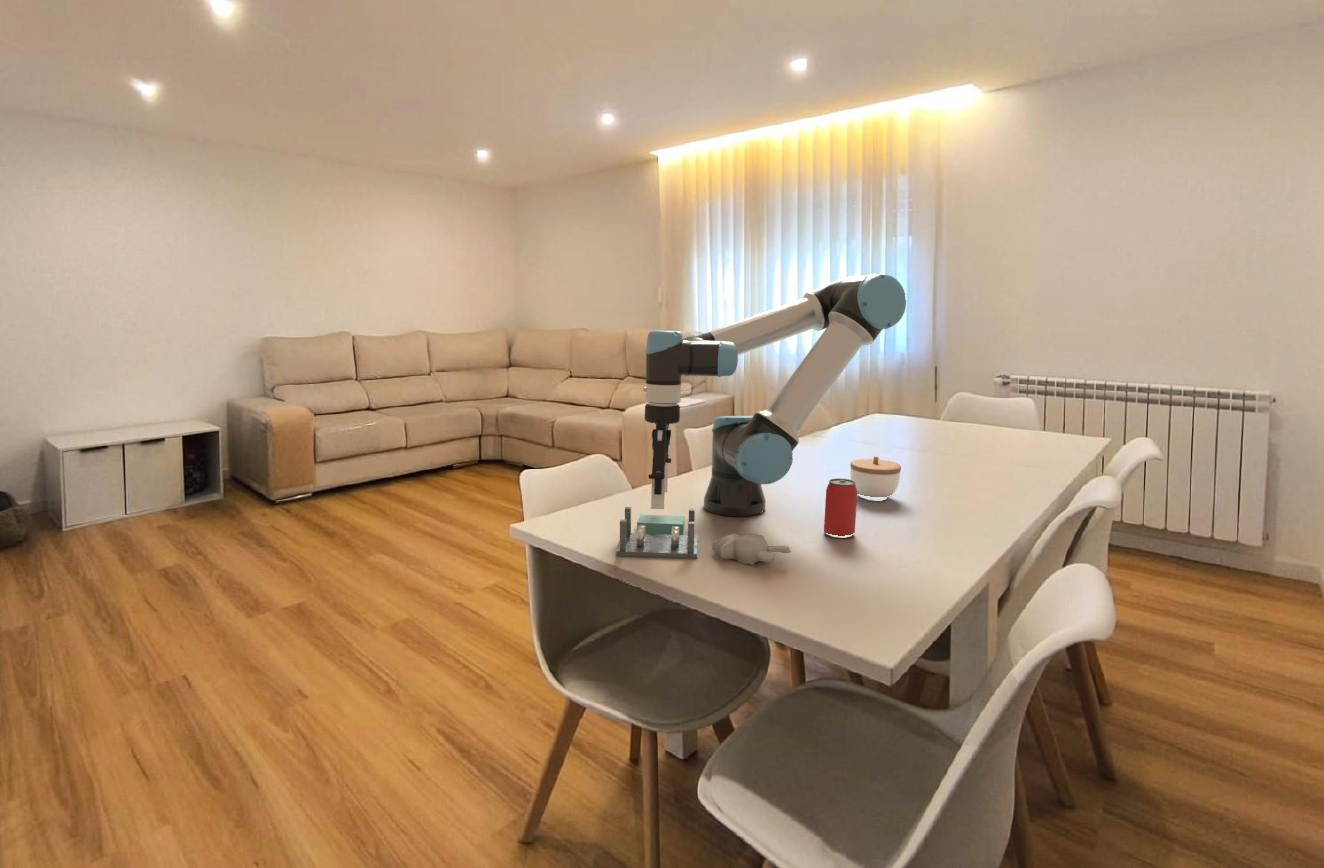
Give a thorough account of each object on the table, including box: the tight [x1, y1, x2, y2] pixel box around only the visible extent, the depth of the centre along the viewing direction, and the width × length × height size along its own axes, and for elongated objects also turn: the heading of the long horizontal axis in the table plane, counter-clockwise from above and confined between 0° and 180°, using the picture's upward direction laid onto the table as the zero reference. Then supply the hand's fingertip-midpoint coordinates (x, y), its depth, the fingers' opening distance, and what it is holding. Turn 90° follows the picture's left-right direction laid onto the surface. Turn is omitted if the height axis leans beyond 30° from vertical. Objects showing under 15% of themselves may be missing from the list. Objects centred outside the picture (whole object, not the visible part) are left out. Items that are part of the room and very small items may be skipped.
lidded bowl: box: [849, 455, 902, 497], centre depth 177 cm, size 13×13×11 cm
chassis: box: [615, 506, 698, 560], centre depth 138 cm, size 16×11×7 cm
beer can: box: [823, 477, 858, 536], centre depth 148 cm, size 7×7×12 cm
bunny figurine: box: [711, 533, 792, 566], centre depth 132 cm, size 10×5×15 cm
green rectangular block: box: [636, 514, 686, 535], centre depth 150 cm, size 10×6×3 cm, turn 85°
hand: (659, 499), depth 148 cm, fingers open, 13 cm apart
